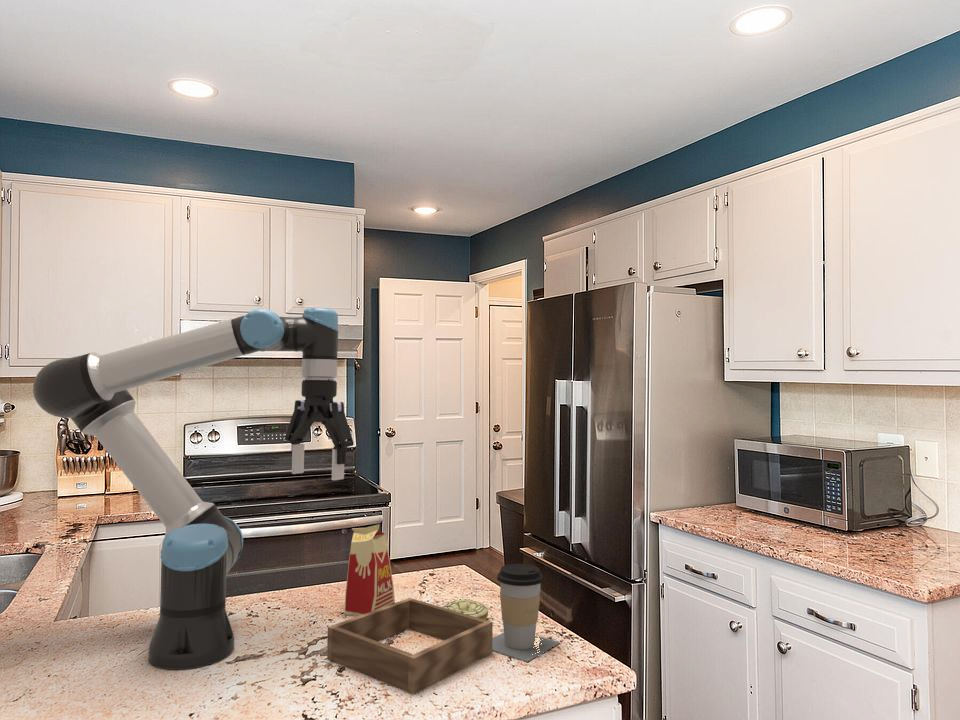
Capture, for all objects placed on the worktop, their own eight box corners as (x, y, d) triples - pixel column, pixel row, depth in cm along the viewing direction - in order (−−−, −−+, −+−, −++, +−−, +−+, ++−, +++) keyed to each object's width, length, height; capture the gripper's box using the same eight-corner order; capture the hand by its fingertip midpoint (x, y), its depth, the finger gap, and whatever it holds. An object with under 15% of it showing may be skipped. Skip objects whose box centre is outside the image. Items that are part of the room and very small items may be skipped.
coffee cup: (539, 655, 130) (540, 577, 130) (491, 650, 132) (493, 573, 132) (544, 637, 139) (545, 564, 139) (500, 633, 141) (501, 561, 141)
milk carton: (395, 607, 156) (397, 521, 157) (373, 620, 148) (375, 529, 148) (362, 601, 160) (364, 517, 161) (339, 613, 152) (341, 524, 152)
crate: (413, 694, 113) (413, 658, 114) (326, 658, 127) (327, 627, 127) (492, 653, 131) (492, 622, 131) (409, 625, 145) (409, 597, 145)
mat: (527, 662, 127) (527, 661, 127) (477, 646, 134) (477, 645, 134) (560, 643, 136) (560, 642, 136) (512, 629, 144) (512, 628, 144)
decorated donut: (429, 621, 148) (429, 604, 148) (465, 610, 156) (466, 594, 156) (460, 635, 141) (461, 616, 141) (497, 622, 148) (497, 605, 148)
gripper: (371, 380, 142) (369, 480, 142) (298, 378, 158) (295, 469, 157) (344, 379, 136) (341, 484, 136) (270, 378, 152) (268, 472, 151)
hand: (317, 476), depth 146 cm, fingers open, 13 cm apart
